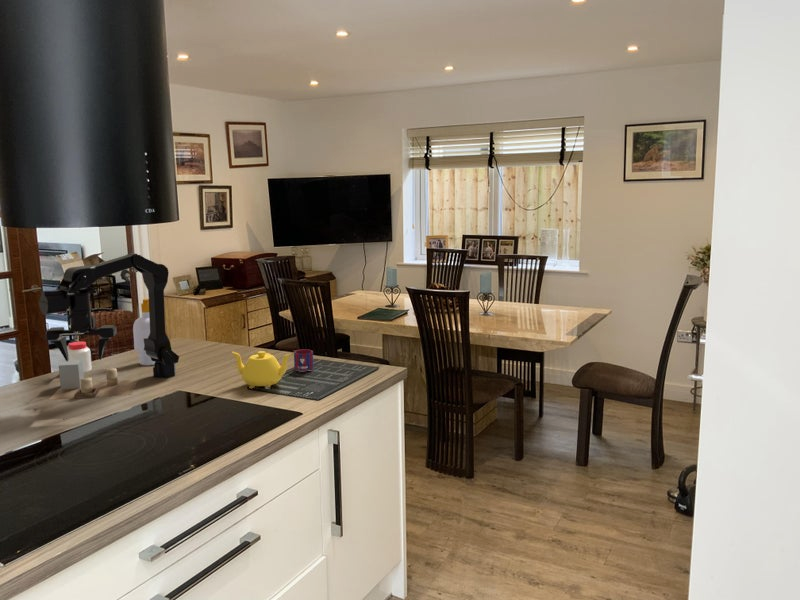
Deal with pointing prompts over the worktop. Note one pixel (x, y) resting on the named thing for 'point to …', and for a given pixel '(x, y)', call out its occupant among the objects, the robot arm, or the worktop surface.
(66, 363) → the block
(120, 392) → the board
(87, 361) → the pill bottle
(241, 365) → the teapot
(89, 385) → the maple peg
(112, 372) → the peg
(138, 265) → the robot arm
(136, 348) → the soap bottle
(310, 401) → the worktop surface
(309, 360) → the mug
